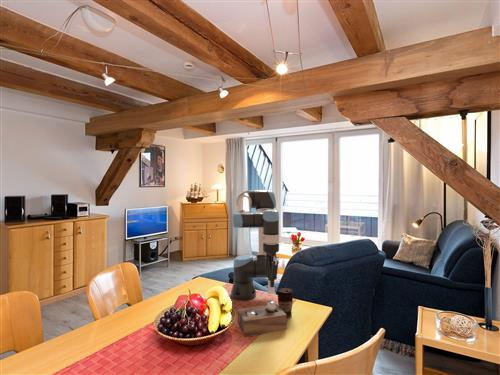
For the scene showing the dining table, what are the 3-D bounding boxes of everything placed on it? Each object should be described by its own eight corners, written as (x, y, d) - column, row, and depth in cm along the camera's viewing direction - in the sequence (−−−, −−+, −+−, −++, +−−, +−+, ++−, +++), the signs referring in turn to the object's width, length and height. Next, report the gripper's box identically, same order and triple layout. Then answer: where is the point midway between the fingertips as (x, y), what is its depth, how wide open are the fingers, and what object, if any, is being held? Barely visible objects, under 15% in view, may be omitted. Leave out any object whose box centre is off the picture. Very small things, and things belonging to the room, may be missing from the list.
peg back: (266, 313, 133) (265, 300, 133) (273, 312, 134) (273, 299, 134) (269, 317, 129) (268, 304, 129) (277, 315, 130) (276, 303, 130)
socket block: (237, 323, 133) (237, 309, 133) (276, 317, 139) (276, 303, 138) (244, 337, 121) (244, 321, 121) (286, 329, 127) (286, 314, 127)
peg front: (245, 323, 130) (245, 311, 130) (254, 322, 131) (254, 310, 131) (248, 328, 126) (248, 315, 126) (256, 326, 127) (256, 313, 127)
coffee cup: (294, 319, 136) (294, 293, 136) (277, 319, 136) (277, 293, 136) (292, 311, 145) (292, 286, 145) (276, 311, 145) (276, 286, 145)
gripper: (259, 241, 136) (259, 289, 136) (268, 246, 123) (268, 299, 123) (273, 240, 138) (273, 287, 138) (284, 245, 126) (284, 297, 126)
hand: (271, 293), depth 131 cm, fingers closed
